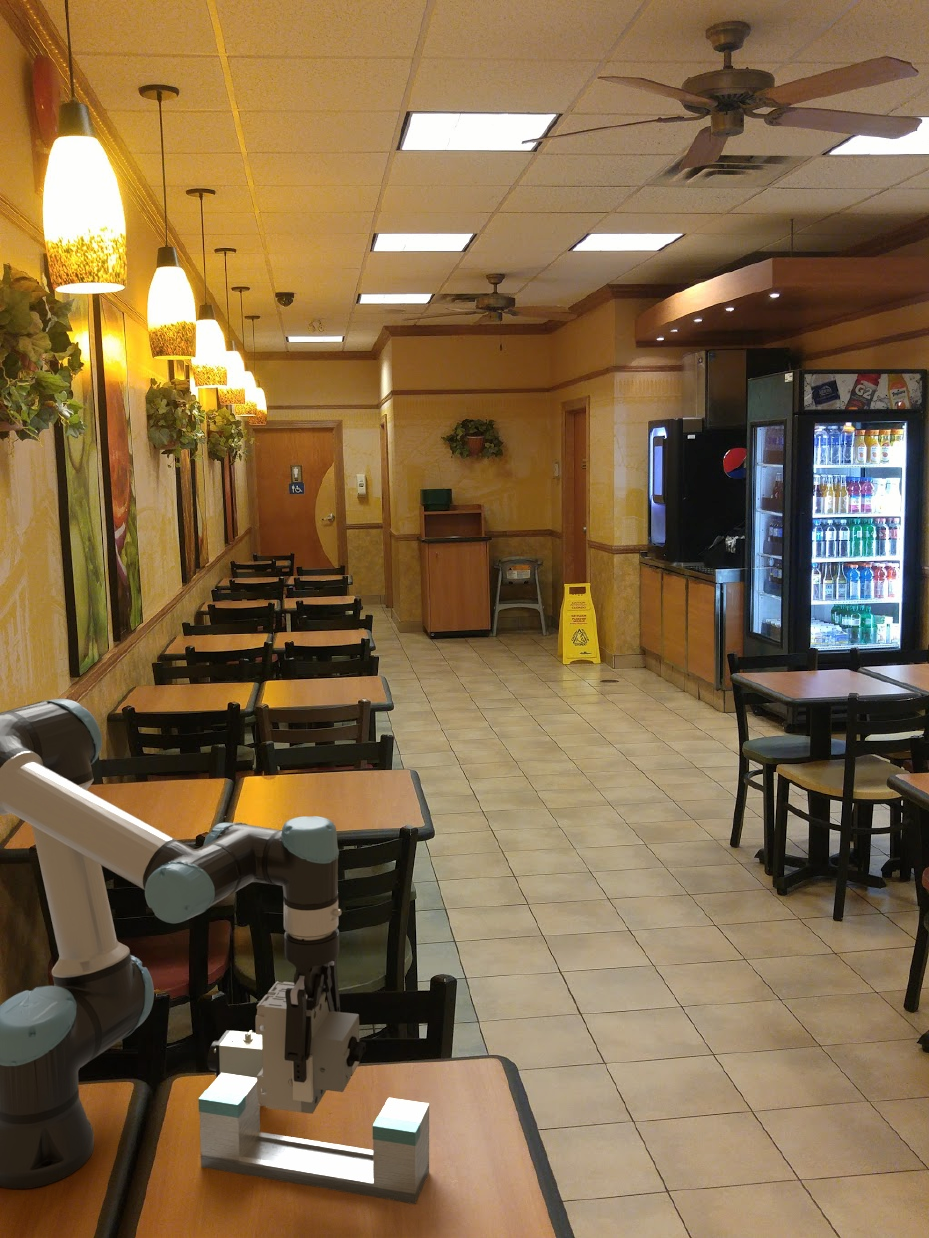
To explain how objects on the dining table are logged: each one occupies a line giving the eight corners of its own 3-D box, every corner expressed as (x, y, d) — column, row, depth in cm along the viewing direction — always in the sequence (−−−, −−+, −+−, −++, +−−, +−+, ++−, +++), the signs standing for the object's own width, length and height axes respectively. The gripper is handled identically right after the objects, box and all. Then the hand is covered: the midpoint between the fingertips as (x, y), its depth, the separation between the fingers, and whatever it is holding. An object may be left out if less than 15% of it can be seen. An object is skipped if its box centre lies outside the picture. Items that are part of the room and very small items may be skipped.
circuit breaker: (355, 1119, 149) (354, 1015, 147) (257, 1106, 151) (255, 1005, 149) (371, 1088, 156) (370, 990, 154) (277, 1077, 159) (275, 980, 157)
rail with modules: (200, 1167, 155) (198, 1098, 154) (222, 1138, 162) (221, 1072, 161) (415, 1204, 148) (415, 1132, 146) (429, 1172, 155) (429, 1102, 153)
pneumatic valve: (280, 1116, 168) (279, 1044, 166) (208, 1109, 170) (206, 1037, 168) (291, 1096, 173) (290, 1026, 172) (221, 1089, 175) (219, 1019, 173)
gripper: (309, 964, 140) (312, 1129, 143) (361, 903, 159) (363, 1049, 162) (255, 958, 141) (259, 1121, 144) (313, 899, 161) (316, 1043, 164)
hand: (314, 1083), depth 153 cm, fingers closed on circuit breaker, 8 cm apart
